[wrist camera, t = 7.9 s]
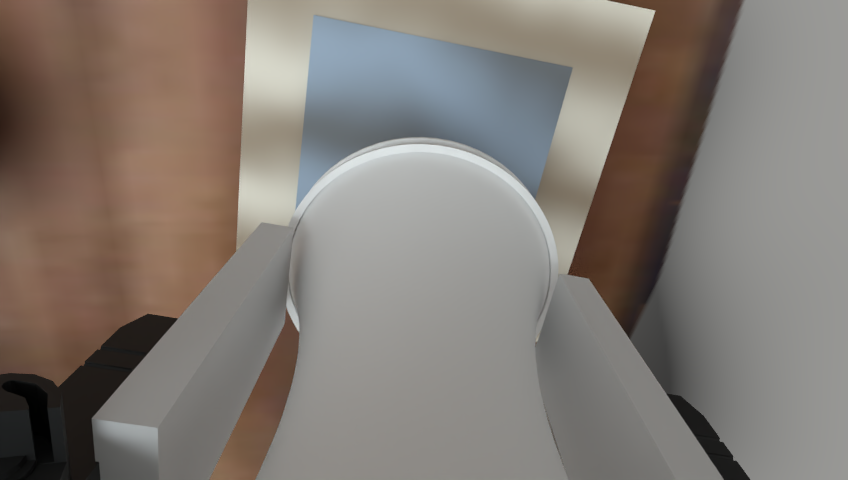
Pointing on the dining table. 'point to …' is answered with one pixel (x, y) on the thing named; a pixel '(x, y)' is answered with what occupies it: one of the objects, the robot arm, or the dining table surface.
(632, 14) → the plinth
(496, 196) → the white flared tube
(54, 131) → the dining table surface
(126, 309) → the dining table surface
